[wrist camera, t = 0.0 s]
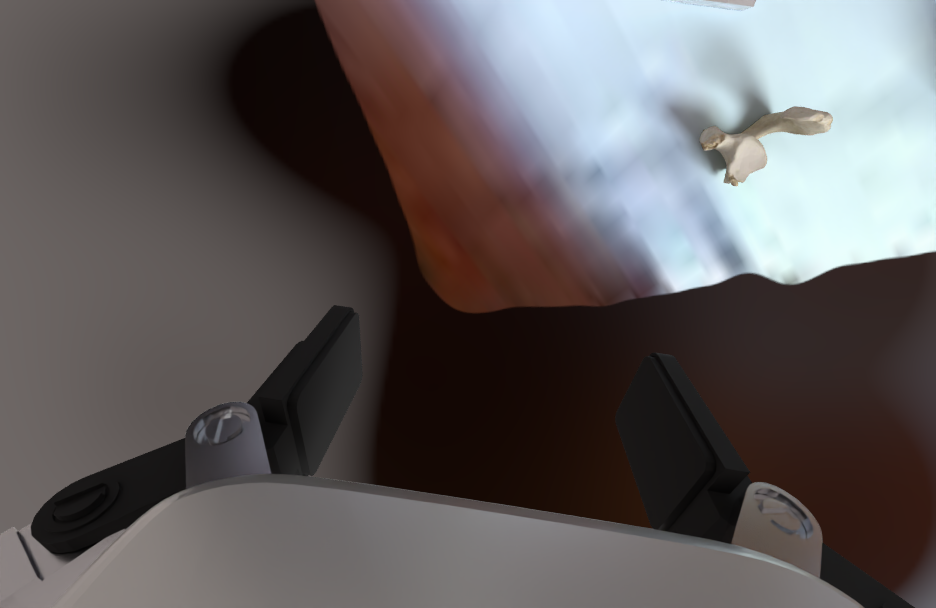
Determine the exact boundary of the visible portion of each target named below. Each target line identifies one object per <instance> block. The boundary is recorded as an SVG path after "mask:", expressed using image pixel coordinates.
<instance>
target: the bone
mask: <svg viewBox="0 0 936 608" xmlns="http://www.w3.org/2000/svg"><path fill="white" fill-rule="evenodd" d="M832 121H833V117H832V116H831V114H829V113H828V112H823V111H818V110H812V109H810V108H805V107H792V108H789V109H787V110H786V111H784V112H779V113H773V114H767V115H764V116H762V117H761V118H760V119H759V120H758V121H756V122H755V123H754V124H753V125H751V126H750V127H749V128H747V129H746V130H745V131H743V132H742V133H740V134H726V133H724V132H722V131H721V130H720V129H719V128H718V127H716V126H711V127H709V128H707V129H706V130H703V132H702V134H701V136H700V138H699V140H700V143H701V146H702V148H703V150H704V151H706V150H712V149H716V150H717V151H719V152H720V153H721V154H722V156H723V158H724V160H725V162H726V166H727V170H726V174H725V179H724V183H728V184H729V183H731V184H732V185H733V186H738V182H742V183H743V182H744V181H745V180H746V178H747V177H748V175H749V174H750V173H753V172H754V171H757V170H759V169H762V168H764V167H765V165H766V163H767V156H766V152H765V149H764V147H763V145H762V144H761V143H760V141H759V140H758V139H759V138H761V137H763V136H765V135H767V134H770V133H774V132H788V133H793V134H800V135H814V134H818V133H825V132H827V131H828V130H829V129H830V127H831V123H832Z"/></svg>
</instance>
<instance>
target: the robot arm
mask: <svg viewBox="0 0 936 608" xmlns="http://www.w3.org/2000/svg"><path fill="white" fill-rule="evenodd" d="M361 380H362V359H361V343H360V327H359V315H358V313H354V310H353V308H350V307H343V306H336V305H334V306H333V307H332V308H331V309H330V310H329V311H328V313H327V314H326V315H325V316H324V317H323V319H322V320H321V321H320V322H319V324H318V325H317V326H316V327H315V328H314V330H313V331H312V332H311V333H310V334H309V336H308V337H307V338H306V339H305V340H304V341H301V342H299V343H298V344H296V345H295V347H294V348H293V349H292V350H291V351H290V353H289V354H288V355H287V356H286V357H285V358H284V360H283V361H282V362H281V363H280V364H279V365H278V367H277V368H276V369H275V370H274V371H273V373H272V374H271V375H270V376H269V377H268V378H267V380H266V381H265V382H264V383H263V384H262V386H261V387H260V388H259V389H258V390H257V392H256V393H255V394H254V395H253V396H252V398H251V399H250V400H249V401H248V402H247V403H244V402H228V403H224V404H220V405H217V406H215V407H212V408H210V409H208V410H206V411H205V412H203V413H202V414H200V415H199V416H198V417H197V418H196V419H195V420H193V421H192V422H191V424H190V426H189V427H188V429H187V430H186V435H185V438H184V439H181V440H179V441H176V442H173V443H171V444H169V445H166V446H163V447H161V448H158V449H156V450H153V451H151V452H148V453H145V454H143V455H141V456H138V457H135V458H133V459H130V460H128V461H125V462H123V463H120V464H117V465H115V466H113V467H110V468H107V469H105V470H102V471H100V472H97V473H95V474H92V475H90V476H87V477H85V478H82V479H80V480H78V481H76V482H74V483H72V484H70V485H69V486H67V487H65V488H64V489H62V490H61V491H59V492H58V493H56V494H55V495H54V496H53V497H52V498H51V499H50V500H48V501H47V502H46V503H45V504H44V505H43V506H42V508H41V509H40V510H39V511H38V513H37V514H36V515H35V517H34V520H33V522H32V523H31V524H30V525H28V526H26V527H24V528H23V529H21V530H19V531H17V530H16V529H15V528H14V527H12V528H10V529H9V530H7V531H5V532H3V533H2V534H0V608H915V607H913V606H912V605H910V604H909V603H907V602H906V601H905V600H903V599H902V598H900V597H899V596H897V595H896V594H895V593H893V592H892V591H890V590H889V589H888V588H886V587H885V586H883V585H882V584H880V583H879V582H877V581H876V580H875V579H873V578H872V577H870V576H869V575H868V574H866V573H865V572H863V571H862V570H860V569H859V568H858V567H856V566H855V565H853V564H852V563H851V562H849V561H848V560H846V559H845V558H844V557H842V556H841V555H839V554H838V553H836V552H835V551H834V550H832V549H830V548H829V547H828V546H826V545H825V544H824V543H822V533H821V528H820V527H819V525H818V523H817V521H816V519H815V518H814V517H813V515H812V514H811V513H810V512H809V511H808V509H807V508H806V507H804V506H803V505H802V504H801V503H800V502H799V501H798V500H797V499H796V498H794V497H793V496H791V495H790V494H788V493H787V492H785V491H783V490H782V489H780V488H778V487H776V486H773V485H770V484H767V483H761V482H756V483H752V482H751V481H750V479H749V477H748V476H747V475H748V474H749V473H750V471H749V470H748V468H747V467H746V465H745V464H744V462H743V461H742V459H741V458H740V456H739V455H738V453H737V452H736V450H735V449H734V447H733V446H732V444H731V442H730V441H729V439H728V438H727V437H726V435H725V433H724V432H723V430H722V429H721V427H720V426H719V424H718V423H717V421H716V420H715V418H714V417H713V415H712V413H711V412H710V410H709V409H708V407H707V406H706V404H705V403H704V401H703V400H702V398H701V397H700V395H699V394H698V392H697V390H696V389H695V388H694V386H693V384H692V383H691V381H690V380H689V378H688V377H687V376H686V374H685V372H684V371H683V369H682V368H681V366H680V365H679V363H678V361H677V360H676V358H675V357H674V356H671V355H666V354H660V353H652V354H650V356H646V357H645V358H644V359H643V361H642V362H641V364H640V367H639V368H638V371H637V372H636V375H635V376H634V379H633V380H632V383H631V385H630V386H629V388H628V390H627V392H626V395H625V396H624V399H623V400H622V403H621V404H620V407H619V408H618V410H617V413H616V418H615V420H616V425H617V428H618V431H619V434H620V437H621V439H622V442H623V446H624V448H625V451H626V454H627V457H628V460H629V463H630V466H631V469H632V472H633V475H634V478H635V481H636V484H637V487H638V489H639V492H640V495H641V498H642V501H643V504H644V507H645V510H646V513H647V516H648V519H649V522H650V524H651V526H652V528H653V529H649V528H643V527H637V526H631V525H625V524H618V523H613V522H607V521H600V520H594V519H588V518H582V517H576V516H570V515H564V514H557V513H551V512H545V511H538V510H532V509H526V508H519V507H513V506H507V505H501V504H494V503H488V502H481V501H475V500H469V499H462V498H456V497H449V496H443V495H436V494H430V493H423V492H416V491H410V490H403V489H397V488H390V487H383V486H377V485H370V484H363V483H356V482H348V481H341V480H333V479H326V478H318V477H309V476H308V475H311V476H312V475H314V474H315V472H316V471H317V469H318V467H319V465H320V463H321V461H322V459H323V457H324V455H325V453H326V451H327V449H328V447H329V445H330V443H331V441H332V439H333V437H334V435H335V433H336V431H337V429H338V427H339V425H340V423H341V421H342V419H343V417H344V415H345V413H346V411H347V409H348V407H349V406H350V404H351V402H352V400H353V398H354V395H355V394H356V391H357V390H358V388H359V386H360V383H361Z"/></svg>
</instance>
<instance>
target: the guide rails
mask: <svg viewBox="0 0 936 608" xmlns="http://www.w3.org/2000/svg"><path fill="white" fill-rule="evenodd" d="M662 1H670V2H678V3H685V4H693V5H700V6H708V7H716V8H723V9H731V10H739V11H743V10H746V9H748V8H751V7H753V6H754V4H755V2H756V0H662Z"/></svg>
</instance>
